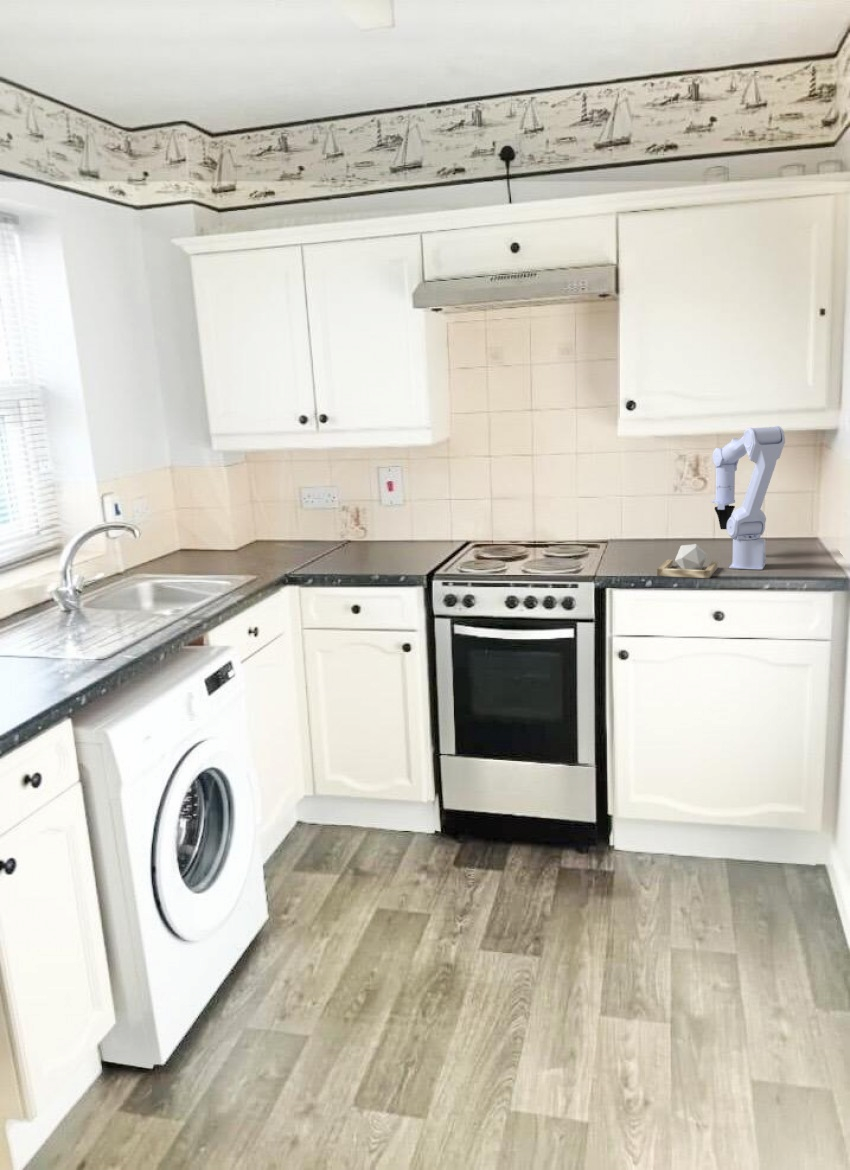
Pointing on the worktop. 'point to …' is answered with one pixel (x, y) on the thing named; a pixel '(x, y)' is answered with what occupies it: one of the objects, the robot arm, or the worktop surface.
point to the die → (691, 557)
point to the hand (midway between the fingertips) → (724, 529)
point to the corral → (686, 570)
